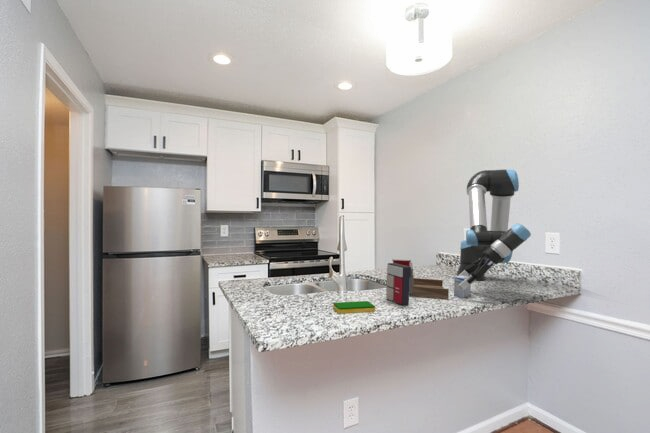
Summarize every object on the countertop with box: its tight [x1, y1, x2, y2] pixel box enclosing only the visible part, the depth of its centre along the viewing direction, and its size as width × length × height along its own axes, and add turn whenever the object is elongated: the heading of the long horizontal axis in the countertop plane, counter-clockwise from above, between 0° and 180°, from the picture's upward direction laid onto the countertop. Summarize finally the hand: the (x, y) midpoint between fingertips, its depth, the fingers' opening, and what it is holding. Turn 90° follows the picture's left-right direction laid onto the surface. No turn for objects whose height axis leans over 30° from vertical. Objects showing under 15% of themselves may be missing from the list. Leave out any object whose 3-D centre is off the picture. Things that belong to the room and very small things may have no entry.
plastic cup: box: [391, 258, 412, 266], centre depth 171 cm, size 11×11×12 cm
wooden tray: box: [409, 262, 449, 300], centre depth 143 cm, size 22×16×12 cm
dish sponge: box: [332, 300, 376, 315], centre depth 111 cm, size 7×14×2 cm, turn 105°
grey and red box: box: [385, 262, 411, 306], centre depth 124 cm, size 11×4×15 cm, turn 23°
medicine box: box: [453, 275, 472, 299], centre depth 137 cm, size 8×4×9 cm, turn 134°
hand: (458, 284), depth 137 cm, fingers open, 13 cm apart
